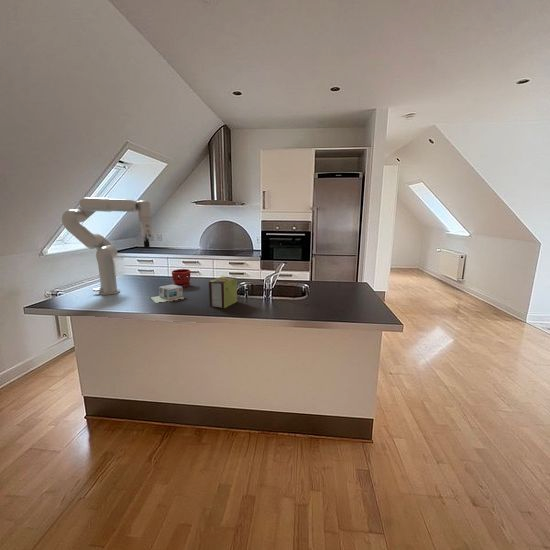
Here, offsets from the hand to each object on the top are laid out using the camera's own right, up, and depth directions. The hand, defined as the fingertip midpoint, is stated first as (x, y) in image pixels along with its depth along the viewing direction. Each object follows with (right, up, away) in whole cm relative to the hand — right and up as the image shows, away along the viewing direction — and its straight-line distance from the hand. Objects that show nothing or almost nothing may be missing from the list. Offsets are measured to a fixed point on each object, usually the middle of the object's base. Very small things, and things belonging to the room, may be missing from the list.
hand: (146, 247), depth 199 cm
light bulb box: (+15, -29, -5) cm, 33 cm away
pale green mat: (+18, -34, -10) cm, 40 cm away
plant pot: (+17, -28, +21) cm, 39 cm away
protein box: (+56, -37, -20) cm, 70 cm away
